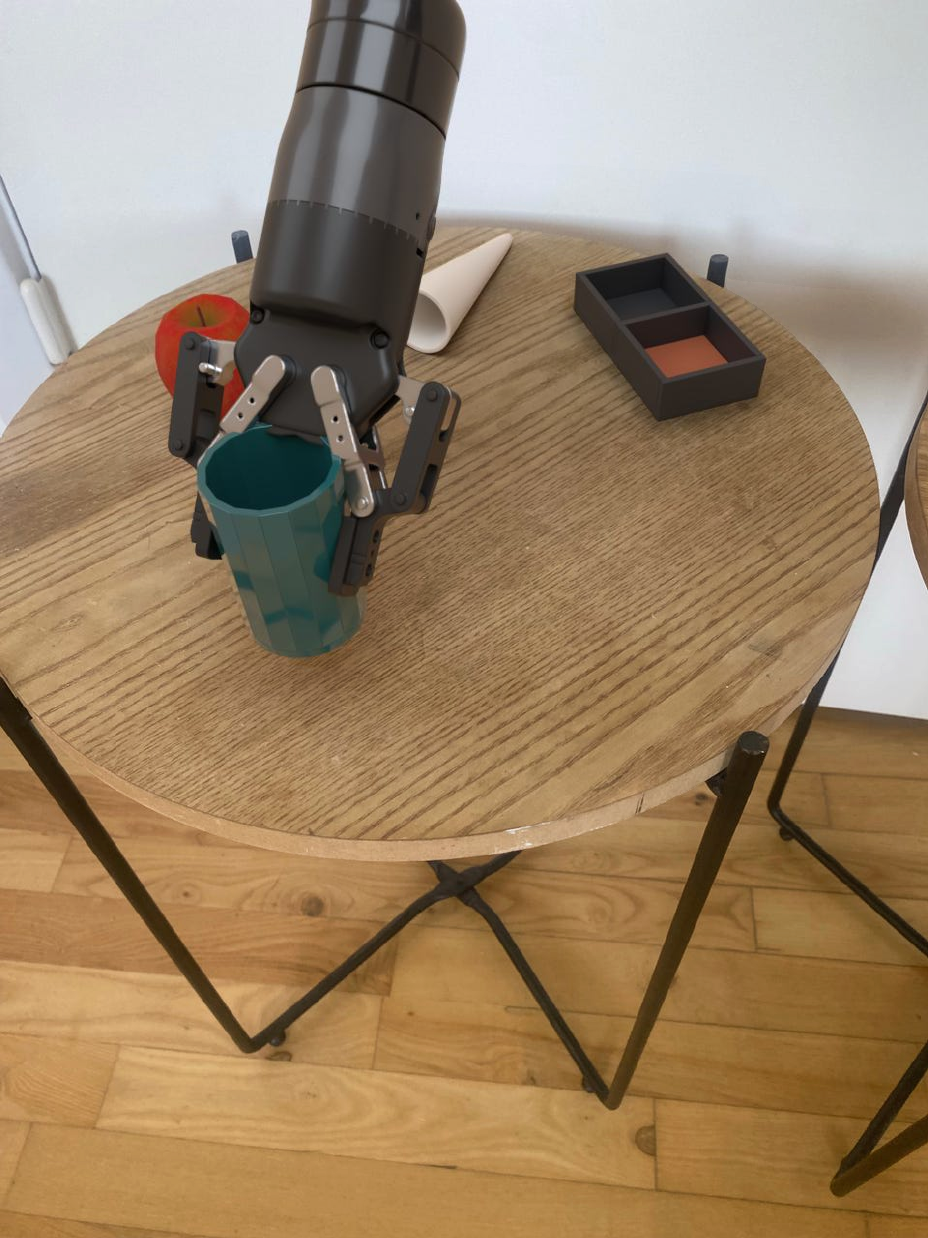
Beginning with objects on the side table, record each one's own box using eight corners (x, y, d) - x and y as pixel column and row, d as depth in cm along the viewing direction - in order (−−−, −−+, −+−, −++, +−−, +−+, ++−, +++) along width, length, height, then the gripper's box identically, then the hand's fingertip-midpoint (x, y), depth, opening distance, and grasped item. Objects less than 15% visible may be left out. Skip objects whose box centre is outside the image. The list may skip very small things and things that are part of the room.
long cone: (561, 274, 92) (452, 359, 81) (504, 264, 95) (391, 345, 83) (561, 213, 88) (447, 293, 77) (502, 205, 91) (383, 281, 80)
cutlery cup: (380, 573, 52) (356, 426, 44) (348, 666, 48) (315, 523, 40) (269, 559, 53) (226, 414, 45) (228, 649, 49) (174, 506, 41)
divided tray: (757, 396, 76) (767, 357, 74) (658, 421, 75) (663, 383, 72) (662, 288, 87) (667, 251, 84) (573, 309, 85) (575, 272, 83)
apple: (188, 393, 79) (151, 274, 71) (290, 389, 79) (264, 269, 71) (171, 461, 74) (128, 341, 66) (280, 457, 74) (250, 335, 66)
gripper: (168, 172, 42) (101, 540, 44) (472, 218, 38) (382, 619, 40) (253, 228, 49) (192, 543, 51) (516, 272, 45) (438, 610, 48)
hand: (276, 575), depth 46 cm, fingers closed on cutlery cup, 6 cm apart
